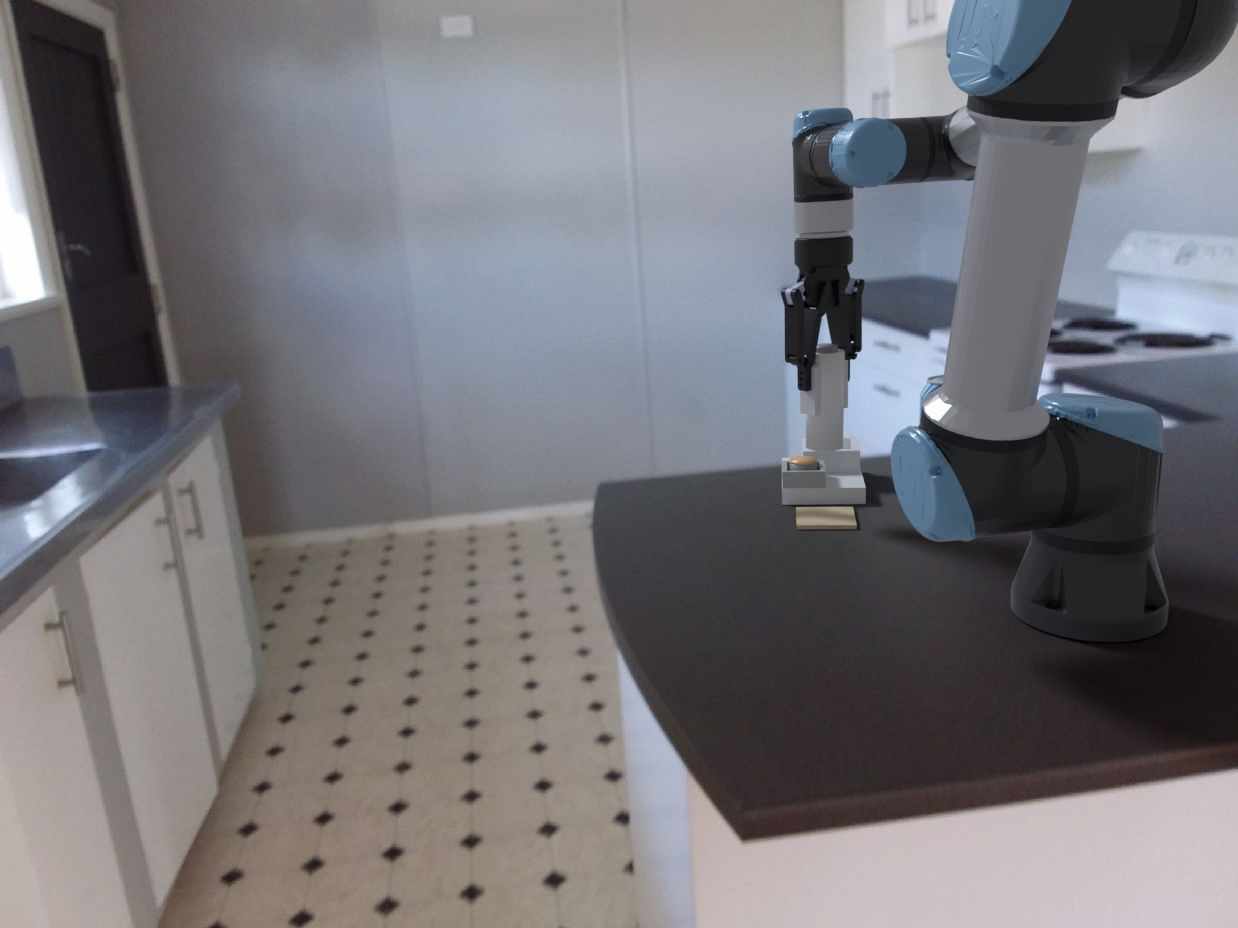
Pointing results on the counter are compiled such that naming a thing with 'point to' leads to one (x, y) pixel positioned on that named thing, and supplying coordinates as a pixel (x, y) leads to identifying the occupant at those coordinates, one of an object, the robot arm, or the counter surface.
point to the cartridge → (828, 401)
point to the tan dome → (803, 463)
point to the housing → (826, 477)
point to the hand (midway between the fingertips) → (824, 409)
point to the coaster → (825, 518)
